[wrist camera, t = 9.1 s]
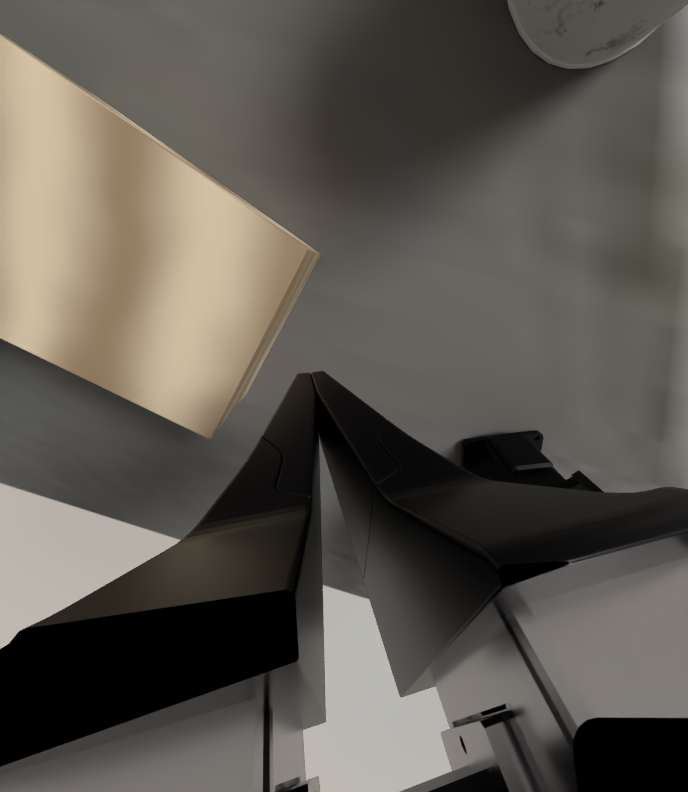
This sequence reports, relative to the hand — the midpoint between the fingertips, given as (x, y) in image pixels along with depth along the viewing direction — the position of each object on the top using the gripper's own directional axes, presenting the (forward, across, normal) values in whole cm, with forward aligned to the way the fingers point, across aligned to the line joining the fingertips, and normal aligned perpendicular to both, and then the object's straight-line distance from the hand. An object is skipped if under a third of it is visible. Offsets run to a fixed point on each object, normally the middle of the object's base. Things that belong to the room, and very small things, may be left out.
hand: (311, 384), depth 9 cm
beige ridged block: (+14, +7, 0) cm, 16 cm away
